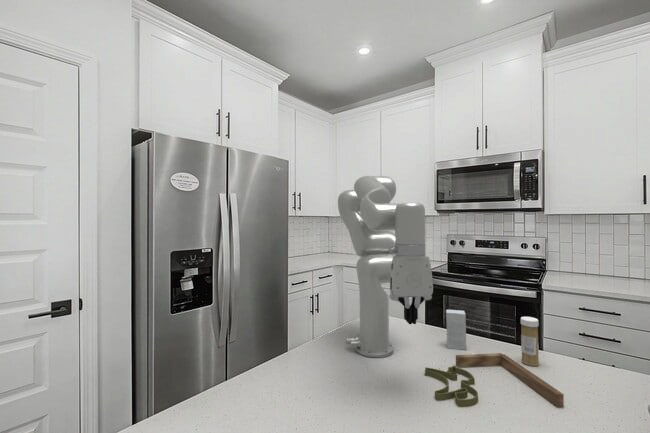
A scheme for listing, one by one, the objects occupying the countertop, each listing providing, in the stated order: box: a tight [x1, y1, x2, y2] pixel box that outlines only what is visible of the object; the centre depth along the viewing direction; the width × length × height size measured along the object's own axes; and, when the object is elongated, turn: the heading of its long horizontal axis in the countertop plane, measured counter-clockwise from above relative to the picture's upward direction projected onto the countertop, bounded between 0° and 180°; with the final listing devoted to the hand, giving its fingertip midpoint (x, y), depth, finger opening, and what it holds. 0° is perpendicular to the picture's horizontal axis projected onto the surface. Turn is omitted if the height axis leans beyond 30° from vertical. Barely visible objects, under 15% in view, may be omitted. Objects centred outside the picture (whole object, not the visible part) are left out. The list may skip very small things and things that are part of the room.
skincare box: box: [445, 309, 467, 351], centre depth 111 cm, size 6×4×12 cm
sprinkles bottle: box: [520, 316, 540, 367], centre depth 98 cm, size 5×5×14 cm
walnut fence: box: [455, 352, 565, 408], centre depth 86 cm, size 15×23×3 cm, turn 4°
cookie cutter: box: [424, 365, 479, 408], centre depth 85 cm, size 18×12×2 cm, turn 174°
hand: (410, 322), depth 84 cm, fingers closed
